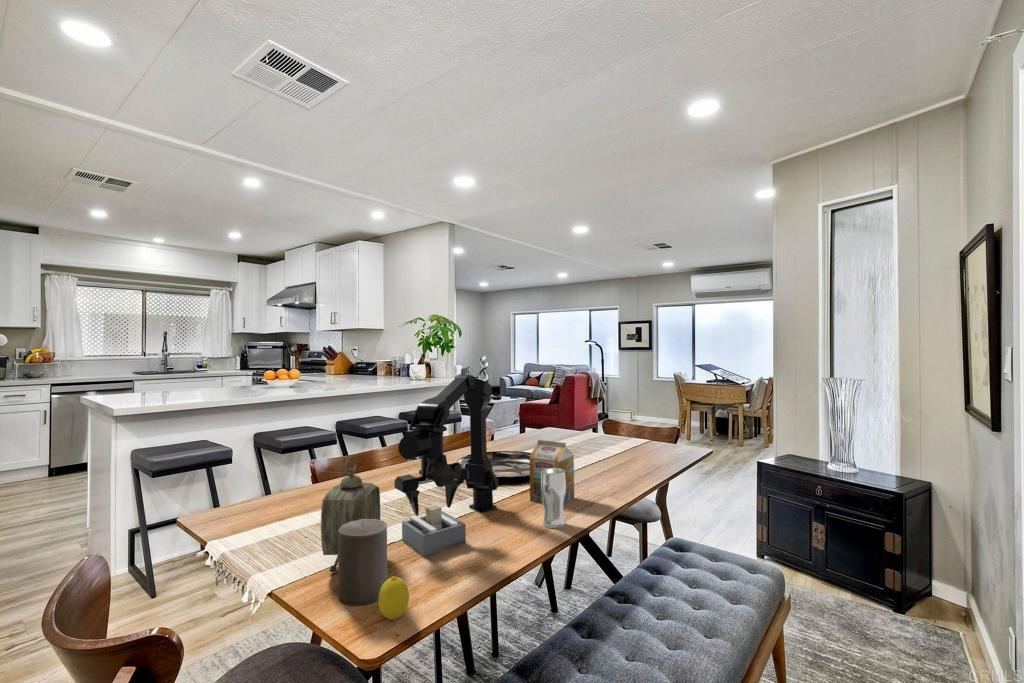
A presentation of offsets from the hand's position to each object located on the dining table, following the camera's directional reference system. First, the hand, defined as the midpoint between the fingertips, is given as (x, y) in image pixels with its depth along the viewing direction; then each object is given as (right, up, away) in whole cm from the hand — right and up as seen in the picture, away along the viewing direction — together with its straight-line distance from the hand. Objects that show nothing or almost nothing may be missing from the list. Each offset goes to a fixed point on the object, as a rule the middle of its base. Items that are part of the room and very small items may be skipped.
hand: (433, 511), depth 121 cm
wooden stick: (0, -7, 0) cm, 7 cm away
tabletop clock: (-17, -8, -10) cm, 22 cm away
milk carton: (+34, -8, +32) cm, 47 cm away
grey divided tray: (0, -8, 0) cm, 8 cm away
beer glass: (+32, -8, +11) cm, 35 cm away
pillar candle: (-10, -8, -24) cm, 28 cm away
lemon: (-2, -8, -34) cm, 35 cm away
